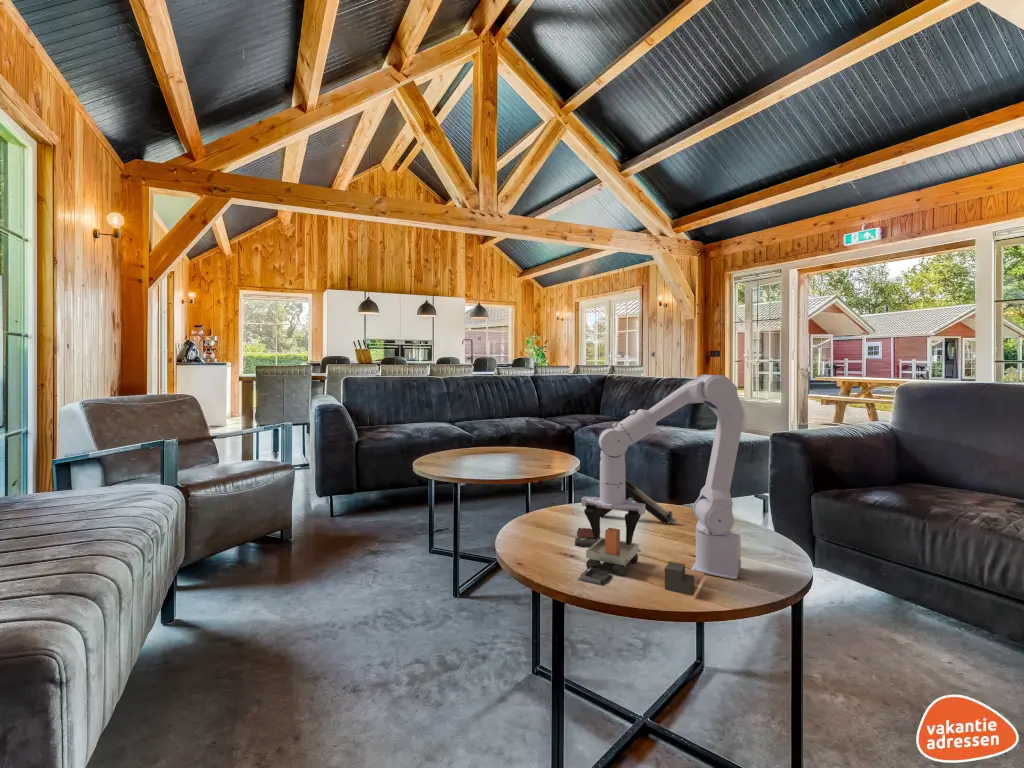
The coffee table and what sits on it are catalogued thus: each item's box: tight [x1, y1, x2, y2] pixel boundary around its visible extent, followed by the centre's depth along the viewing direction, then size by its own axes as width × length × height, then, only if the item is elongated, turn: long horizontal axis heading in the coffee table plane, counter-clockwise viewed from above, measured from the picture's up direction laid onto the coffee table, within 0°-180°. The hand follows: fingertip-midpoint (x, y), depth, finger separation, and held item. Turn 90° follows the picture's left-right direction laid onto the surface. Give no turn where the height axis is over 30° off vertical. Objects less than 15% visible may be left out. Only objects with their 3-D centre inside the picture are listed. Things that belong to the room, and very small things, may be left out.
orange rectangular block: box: [604, 527, 621, 554], centre depth 117 cm, size 3×3×5 cm
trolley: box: [585, 537, 640, 577], centre depth 118 cm, size 9×10×5 cm
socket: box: [576, 568, 614, 587], centre depth 111 cm, size 6×6×1 cm
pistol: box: [574, 527, 602, 548], centre depth 135 cm, size 3×15×12 cm
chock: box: [664, 561, 695, 596], centre depth 105 cm, size 5×4×5 cm
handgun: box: [597, 476, 677, 525], centre depth 154 cm, size 3×23×15 cm
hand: (612, 540), depth 118 cm, fingers open, 7 cm apart
